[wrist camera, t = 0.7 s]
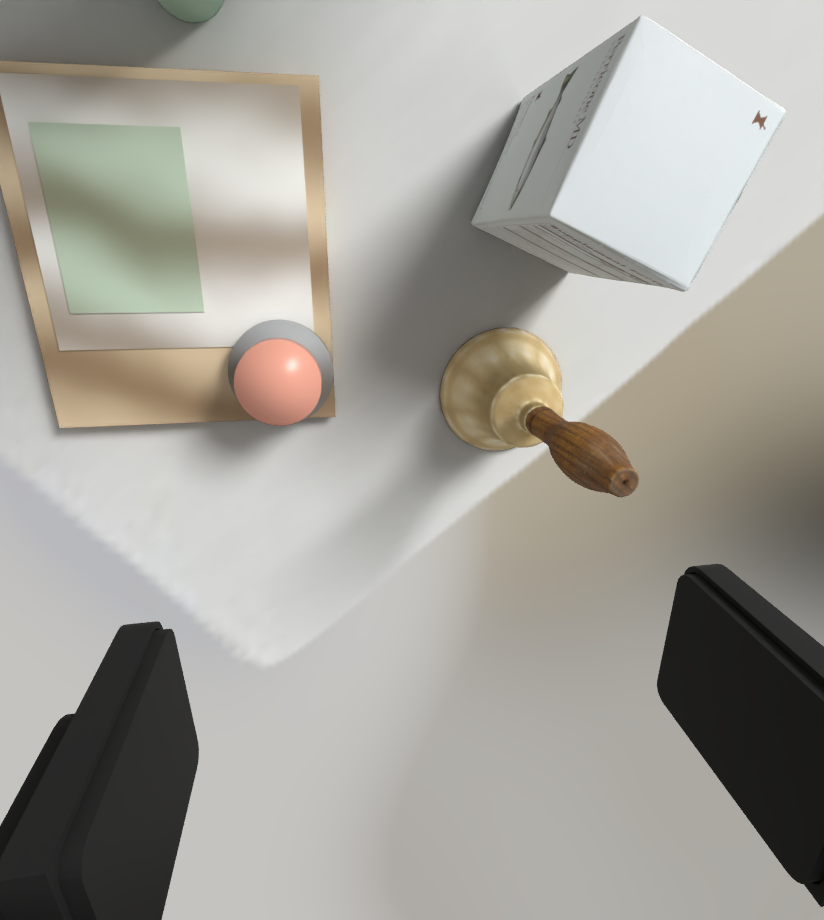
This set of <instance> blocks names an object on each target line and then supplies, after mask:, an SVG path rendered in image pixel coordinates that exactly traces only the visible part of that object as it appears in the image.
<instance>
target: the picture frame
mask: <svg viewBox="0 0 824 920" xmlns="http://www.w3.org/2000/svg"><path fill="white" fill-rule="evenodd" d="M0 185H1V189H2V193H3V197H4V201H5V205H6V210H7V214H8V218H9V222H10V226H11V230H12V234H13V238H14V242H15V247H16V251H17V255H18V259H19V263H20V267H21V271H22V275H23V279H24V284H25V288H26V292H27V296H28V300H29V304H30V308H31V312H32V316H33V321H34V325H35V329H36V333H37V337H38V341H39V345H40V349H41V353H42V358H43V362H44V366H45V370H46V374H47V378H48V382H49V386H50V390H51V395H52V399H53V403H54V407H55V411H56V415H57V419H58V423H59V427H60V428H70V427H95V426H119V425H144V424H168V423H193V422H217V421H242V420H257V419H255V418H254V417H252V416H251V415H250V414H248V413H247V412H246V411H245V409H244V408H243V407H242V406H241V404H240V403H239V401H238V399H237V396H236V393H235V389H234V374H235V370H236V367H237V365H238V363H239V361H240V360H241V358H242V357H243V355H244V354H245V353H246V351H247V350H248V349H249V348H250V347H251V346H253V345H254V344H256V343H258V342H259V341H262V340H265V339H269V338H286V339H290V340H293V341H295V342H298V343H299V344H301V345H303V346H304V347H305V348H307V349H308V350H309V351H310V352H311V353H312V355H313V356H314V357H315V359H316V361H317V363H318V365H319V368H320V371H321V395H320V398H319V401H318V403H317V405H316V406H315V408H314V409H313V411H312V412H311V413H310V414H309V415H308V416H307V417H305V418H304V419H306V418H315V417H335V398H334V377H333V357H332V337H331V317H330V297H329V276H328V256H327V236H326V216H325V196H324V176H323V155H322V135H321V115H320V95H319V76H315V75H294V74H273V73H252V72H231V71H209V70H188V69H167V68H146V67H124V66H103V65H82V64H61V63H40V62H18V61H0ZM304 419H302V420H304ZM300 421H301V420H300Z"/></svg>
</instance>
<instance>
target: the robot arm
mask: <svg viewBox="0 0 824 920" xmlns="http://www.w3.org/2000/svg"><path fill="white" fill-rule="evenodd" d="M657 688H658V693H659V695H660V698H661V700H662V702H663V703H664V705H665V706H666V707H667V709H668V710H669V711H670V713H671V714H672V715H673V717H674V718H675V720H676V721H677V722H678V724H679V725H680V727H681V728H682V729H683V730H684V732H685V733H686V735H687V736H688V737H689V739H690V740H691V741H692V743H693V744H694V746H695V747H696V748H697V750H698V751H699V752H700V754H701V755H702V757H703V758H704V759H705V761H706V762H707V763H708V765H709V766H710V767H711V769H712V770H713V772H714V773H715V774H716V775H717V777H718V778H719V780H720V781H721V782H722V784H723V785H724V786H725V788H726V789H727V791H728V792H729V793H730V795H731V796H732V797H733V799H734V800H735V801H736V803H737V804H738V806H739V807H740V808H741V810H742V811H743V813H744V814H745V815H746V816H747V818H748V819H749V821H750V822H751V823H752V825H753V826H754V828H755V829H756V830H757V832H758V833H759V834H760V836H761V837H762V838H763V840H764V841H765V843H766V844H767V845H768V847H769V848H770V849H771V851H772V852H773V853H774V855H775V856H776V858H777V859H778V860H779V862H780V863H781V864H782V866H783V867H784V868H785V870H786V871H787V872H788V874H789V875H790V876H791V877H792V878H793V879H794V880H796V881H797V882H799V883H801V884H804V885H805V886H806V888H807V889H808V890H809V892H810V893H811V894H812V895H813V897H814V898H815V900H816V901H817V902H818V904H819V905H820V906H821V907H823V906H824V647H823V646H822V645H821V644H820V643H818V642H817V641H816V640H815V639H814V638H812V637H811V636H810V635H809V634H807V633H806V632H805V631H804V630H802V629H801V628H800V627H799V626H797V625H796V624H795V623H794V622H793V621H791V620H790V619H789V618H788V617H787V616H785V615H784V614H783V613H782V612H780V611H779V610H778V609H777V608H776V607H774V606H773V605H772V604H771V603H769V602H768V601H767V600H766V599H764V598H763V597H762V596H761V595H760V594H758V593H757V592H756V591H755V590H754V589H752V588H751V587H750V586H749V585H747V584H746V583H745V582H744V581H742V580H741V579H740V578H739V577H737V576H736V575H735V574H734V573H733V572H732V571H730V570H729V569H728V568H727V567H725V566H723V565H721V564H711V565H701V566H692V567H689V568H688V569H687V570H686V571H685V574H684V575H682V576H681V577H680V578H679V579H678V582H677V587H676V591H675V596H674V601H673V606H672V611H671V616H670V621H669V626H668V631H667V636H666V640H665V646H664V651H663V655H662V660H661V665H660V670H659V675H658V680H657ZM198 755H199V747H198V740H197V735H196V731H195V726H194V722H193V717H192V713H191V708H190V704H189V699H188V695H187V690H186V685H185V680H184V676H183V671H182V667H181V663H180V658H179V653H178V649H177V644H176V640H175V635H174V632H173V630H172V629H164V630H163V628H162V625H161V624H160V622H147V623H138V624H128V625H123V626H121V627H120V629H119V630H118V632H117V634H116V635H115V637H114V639H113V641H112V643H111V645H110V647H109V649H108V651H107V653H106V655H105V657H104V659H103V661H102V663H101V664H100V667H99V668H98V670H97V672H96V674H95V676H94V678H93V680H92V682H91V684H90V686H89V688H88V690H87V692H86V693H85V695H84V697H83V699H82V701H81V703H80V705H79V707H78V709H77V711H76V713H75V714H68V715H65V716H64V717H62V718H61V719H60V720H59V721H58V723H57V724H56V726H55V727H54V728H53V730H52V732H51V734H50V736H49V738H48V740H47V742H46V743H45V745H44V747H43V749H42V750H41V752H40V754H39V756H38V758H37V760H36V761H35V763H34V765H33V767H32V769H31V771H30V772H29V774H28V776H27V778H26V780H25V782H24V784H23V785H22V787H21V789H20V791H19V793H18V794H17V796H16V798H15V800H14V802H13V804H12V805H11V807H10V809H9V811H8V813H7V815H6V817H5V818H4V820H3V822H2V824H1V826H0V920H161V919H162V915H163V911H164V906H165V902H166V898H167V894H168V889H169V885H170V881H171V877H172V872H173V868H174V864H175V859H176V855H177V850H178V847H179V842H180V838H181V834H182V829H183V825H184V821H185V817H186V812H187V808H188V804H189V800H190V795H191V791H192V787H193V782H194V778H195V774H196V770H197V765H198V757H199V756H198Z"/></svg>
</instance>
